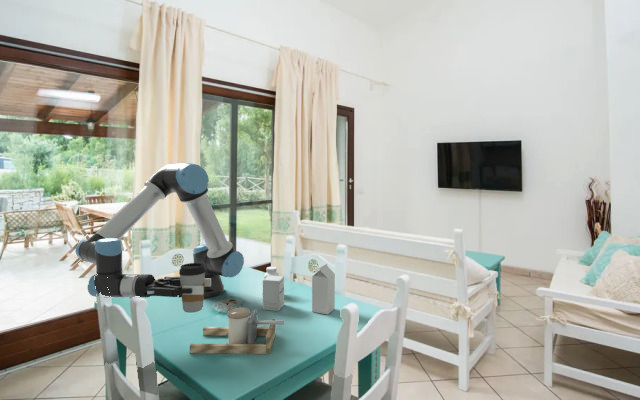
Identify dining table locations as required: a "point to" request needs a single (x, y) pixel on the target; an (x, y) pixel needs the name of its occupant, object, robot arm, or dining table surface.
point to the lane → (236, 348)
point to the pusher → (253, 326)
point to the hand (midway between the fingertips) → (207, 286)
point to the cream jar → (238, 325)
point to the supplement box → (273, 293)
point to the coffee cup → (192, 277)
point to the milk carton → (323, 290)
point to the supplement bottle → (271, 272)
